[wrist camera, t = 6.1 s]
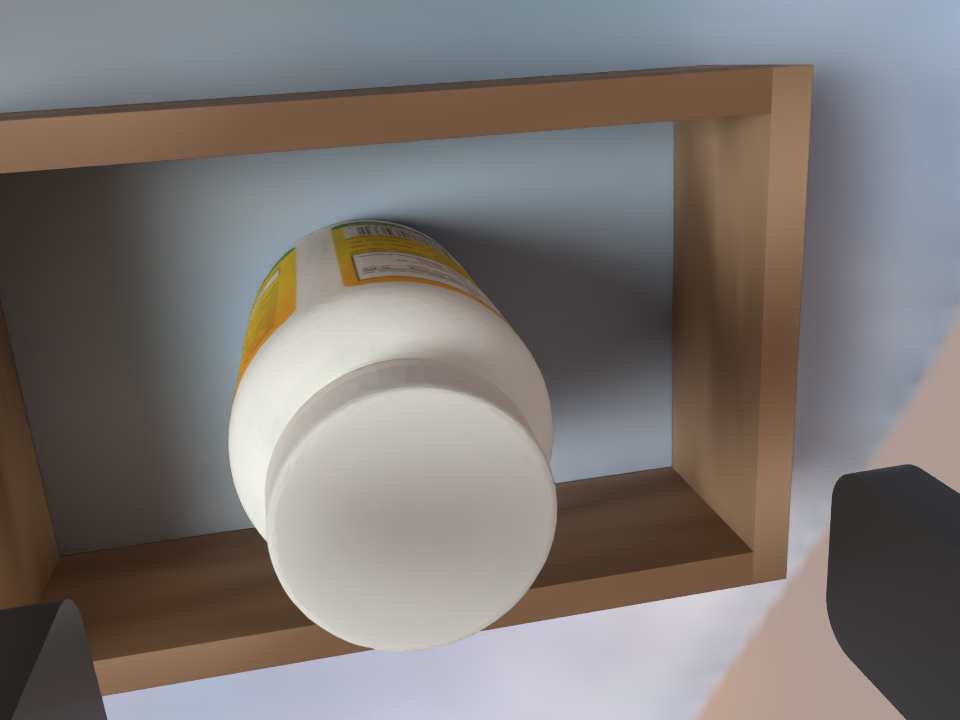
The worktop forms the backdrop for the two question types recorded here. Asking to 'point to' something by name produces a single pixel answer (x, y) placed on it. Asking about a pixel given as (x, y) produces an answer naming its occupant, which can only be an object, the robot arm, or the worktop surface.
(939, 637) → the robot arm
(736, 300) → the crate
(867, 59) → the worktop surface
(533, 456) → the supplement bottle
